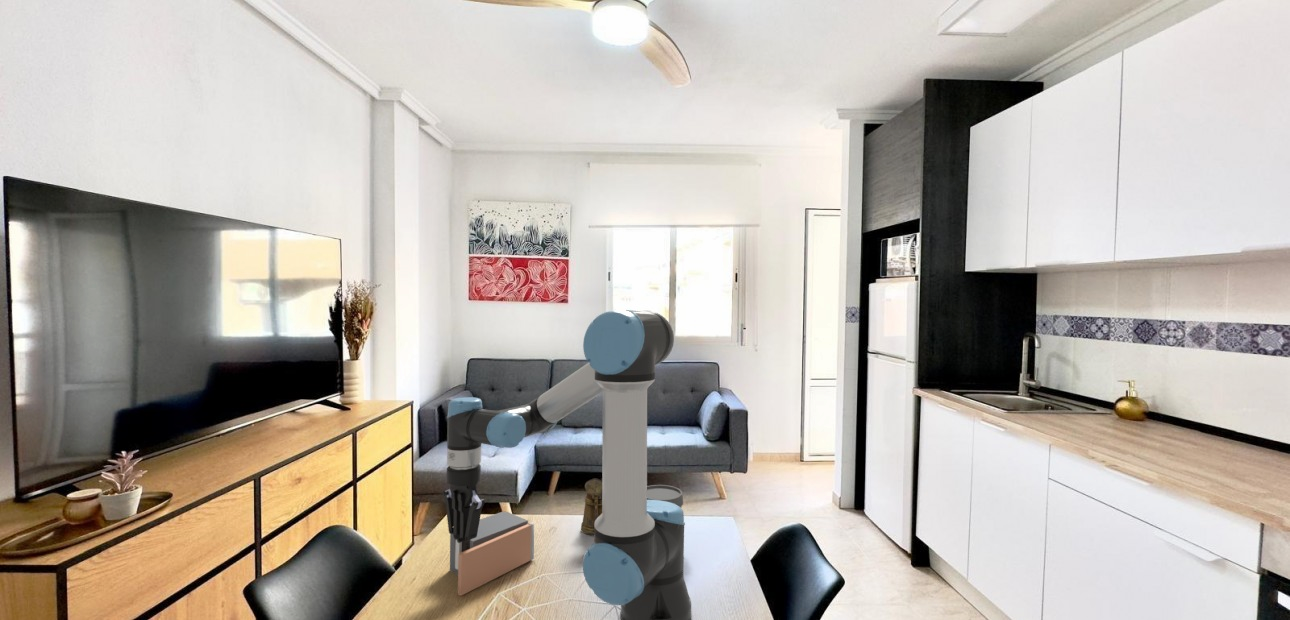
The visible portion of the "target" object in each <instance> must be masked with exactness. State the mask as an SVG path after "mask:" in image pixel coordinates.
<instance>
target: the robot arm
mask: <svg viewBox="0 0 1290 620" xmlns="http://www.w3.org/2000/svg"><path fill="white" fill-rule="evenodd" d="M674 343H675V334H674V330H673V328H672V325H671V324H670V322H669V321H668V320H667V319H666V317H664V316H663V315H662V314H660V313H658V312H655V311H651V310H635V309H617V310H616V309H615V310H614V309H613V310H609V311H605V312H603V313H600V314H598V315H597V316H596V317H595V318H594V319H593V320H592V321H591V322H590V324H589V325H588V327H587V328H586V331H585V334H584V337H583V344H582V345H583V346H582V347H583V348H582V350H583V354H584V357H585V360H586V362H587V363H586V364H584V365H583V366H581V367H580V368H579V369H577V370H576V371H574V372H573V373H571V374H570V375H568V376H567V377H565V378H564V379H563V380H561V381H560V382H558V383H556V384H555V385H553V386H552V387H551V388H549V389H547V390H546V391H545V392H544V393H542V394H541V395H539V396H538V397H537V398H535V399H533V400H532V401H531V402H529V403H527V404H523V405H518V406H513V407H509V408H508V407H507V408H505V409H500V410H490V409H486V408H485V409H484V406H483V401H482V399H481V398H479V397H476V396H475V397H474V396H473V397H471V396H469V397H457V398H453V399H451V400H450V401H449V402H448V404H447V405H448V407H447V416H446V420H447V421H446V423H447V426H446V429H447V434H446V440H447V441H446V447H447V451H446V453H447V454H446V465H447V467H446V479H445V480H446V481H445V483H447V484H448V485H449V489H445V490H443V492H442V495H443V498H444V501H445V512H446V518H447V519H446V520H447V528H448V529H447V530H448V533H449V534H453V537H454V539H455V568H456V569H457V570H458V554H459V553H462V552H464V551H466V550H469V549H470V540H471V539H473V538H476V537H477V532H478V527H479V521H480V519H481V515H482V509H483V507H484V505H485V501H486V500H485V499H484V498H479V495H478V494H479V492H478V489H477V488H478V487H477V484H478V483H479V482H480V480H481V479H482V477H481V473H482V471H481V469H482V467H481V464H480V463H481V462H482V444H483V445H487V446H494V447H497V448H501V449H502V448H507V449H511V448H515V447H518V445H519V444H520V443H521V442H522V441H523V440H524V438H527V437H531V436H534V435H537V434H542V433H546V432H548V431H549V430H551V429H553V428H554V427H556V426H557V423H558V422H559V421H560V420H561V419H564V418H565V417H567V416H568V415H570V414H572V412H575V411H576V410H577V409H579V408H581V407H582V406H583V405H586V404H587V403H589V402H590V401H592V400H593V399H595V398H596V397H598V396H600V395H601V394H602V435H601V437H602V439H601V440H602V459H601V460H602V461H601V462H602V465H601V466H602V471H601V473H602V478H601V480H602V514H601V515H600V516H599V517H598V518H597V519H596V520H595V524H594V535H593V544H591V545H590V546H589V548H588V549H587V550H586V552H585V554H584V555H583V558H582V559H583V560H582V572H583V576H584V580H585V582H586V584H587V587H589V589H590V590H592V591H593V593H594V595H595V596H596V597H597V598H598V599H600V600H601V601H602V602H605V603H607V604H609V605H613V606H620V615H621V617H623V618H622V619H623V620H691V617H692V600H691V597H690V595H689V592H688V591H689V590H688V587H687V585H686V581H685V577H684V576H685V575H684V567H685V566H684V565H685V564H684V560H685V557H684V555H685V554H684V553H685V552H684V551H685V525H686V523H685V514H684V510H683V509H682V508H680V507H679V506H678V505H676V504H673V503H670V502H666V501H660V500H647V486H648V388H649V387H650V386H651V385H652V384H653V383H654V382H655V380H656V366H657V365H659V364H661V363H662V362H664V361H665V360H667V358H668V357H669V356H670V354H671V352H672V350H673V347H674Z"/></svg>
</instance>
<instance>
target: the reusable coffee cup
mask: <svg viewBox="0 0 1290 620" xmlns="http://www.w3.org/2000/svg"><path fill="white" fill-rule="evenodd" d="M647 500H660V501H666V502H670V503H673V504H676V505H678V506H679V507H680V508H681V509H682V507H683V505H684V497H683V491H682V490H681V489H680V488H678V487H675V486H671V485H667V484H654V485H653V484H652V485H647Z"/></svg>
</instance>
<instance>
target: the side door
mask: <svg viewBox="0 0 1290 620" xmlns="http://www.w3.org/2000/svg"><path fill="white" fill-rule="evenodd" d="M534 559H535V522H528V524H527V525H524V526H522V527H520V528H517V529H515V530H513V531H510V532H508V533H506V534H503V535H501V536H499V537H496V538H494V539H492V540H489V541H487V542H485V543H482V544H480V545H478V546H475V547H473V548H471V549H469V550H466V551H464V552H462V553H459V554H458V575H457V595H459V596H463V595H465V594H468V593H469V592H471V591H473V590H475V589H477V588H479V587H480V586H483V585H485V584H487V583H489V582H491V581H494V580H495V579H497V578H498V577H500V576H502V575H504V574H506V573H508V572H511V571H512V570H514V569H516V568H518V567H520V566H522V565H524V564H526V563H528V562H529V561H533V560H534Z"/></svg>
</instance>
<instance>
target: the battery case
mask: <svg viewBox="0 0 1290 620" xmlns="http://www.w3.org/2000/svg"><path fill="white" fill-rule="evenodd" d="M528 523H529V520H528V519H525V518H522V517H521V516H518V515H515V514H514V513H511V512H508V511H506V510H503V511H501V512H498V513H495V514H492V515H488V516H486V517H483V518H480V521H479V527H478V532H477V537H476V538H473V539H471V540H470V549H471V548H473V547H475V546H478V545H480V544H482V543H485V542H487V541H489V540H492V539H494V538H496V537H499V536H501V535H503V534H506V533H508V532H510V531H513V530H515V529H517V528H520V527H522V526H524V525H527V524H528ZM449 534H450V533H449ZM449 537H450V539H449V542H450V543H449V571H450V572H452V573H454V574H455V575H457V576H458V570H457V569H456V568H455V539H454V537H453V534H450V536H449Z"/></svg>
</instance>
